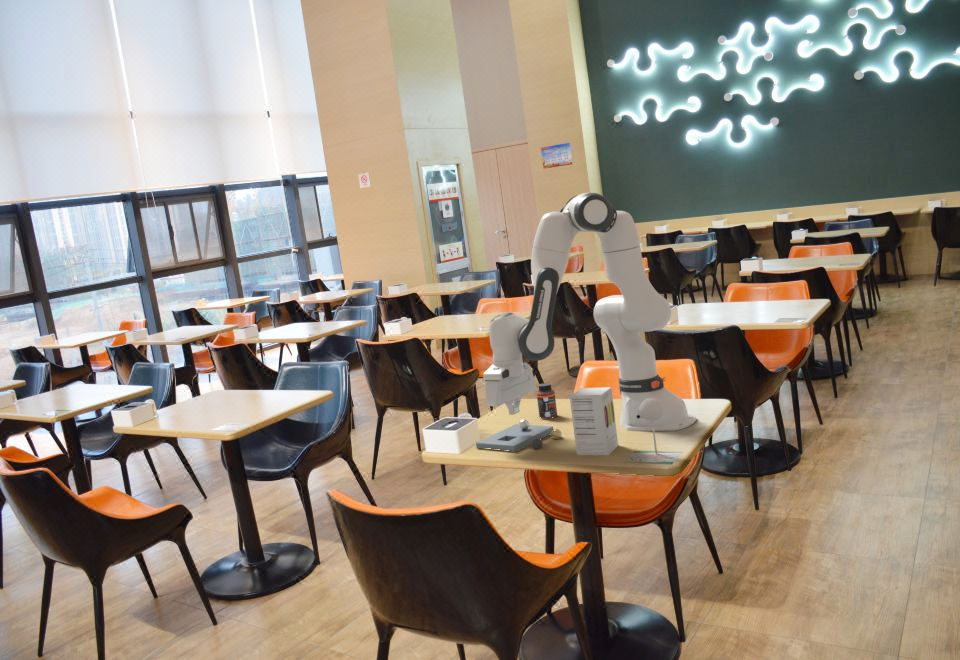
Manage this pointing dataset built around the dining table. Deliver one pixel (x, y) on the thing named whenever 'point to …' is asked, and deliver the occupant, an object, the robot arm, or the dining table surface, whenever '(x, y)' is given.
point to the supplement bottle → (546, 401)
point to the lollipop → (651, 413)
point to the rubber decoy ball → (537, 444)
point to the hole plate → (515, 437)
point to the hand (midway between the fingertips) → (514, 413)
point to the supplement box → (594, 421)
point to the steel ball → (524, 424)
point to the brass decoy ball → (556, 434)
